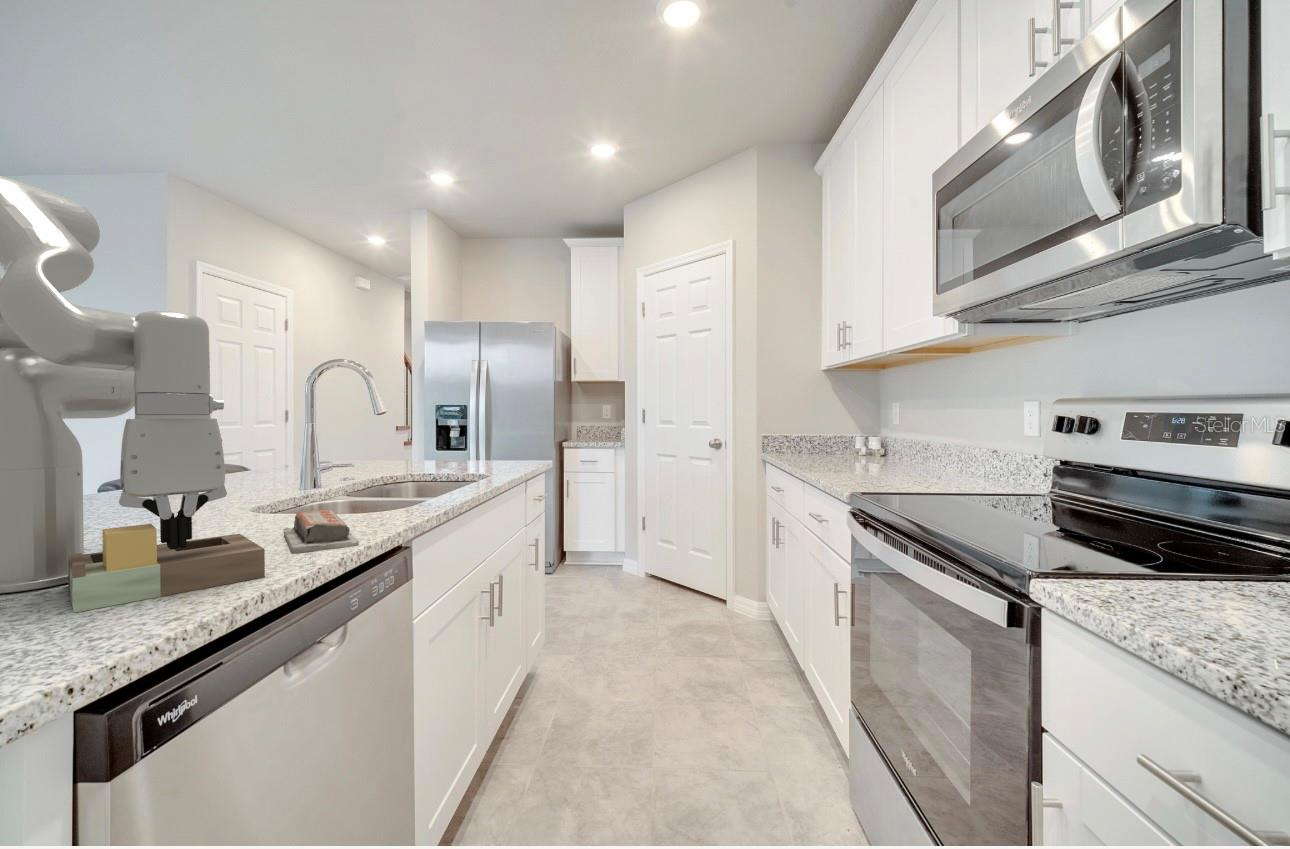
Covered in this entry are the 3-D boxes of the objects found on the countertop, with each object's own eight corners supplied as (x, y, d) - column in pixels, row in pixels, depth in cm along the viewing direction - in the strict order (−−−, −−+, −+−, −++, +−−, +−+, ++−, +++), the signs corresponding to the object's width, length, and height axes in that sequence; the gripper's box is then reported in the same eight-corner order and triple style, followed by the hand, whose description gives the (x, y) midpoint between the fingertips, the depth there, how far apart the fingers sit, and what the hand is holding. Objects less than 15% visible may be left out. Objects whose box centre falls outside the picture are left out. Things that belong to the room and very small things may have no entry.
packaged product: (282, 511, 102) (341, 506, 108) (282, 536, 102) (342, 530, 109) (291, 527, 88) (359, 520, 94) (291, 557, 88) (359, 548, 94)
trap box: (68, 586, 71) (67, 545, 71) (239, 558, 85) (239, 524, 85) (73, 612, 62) (72, 565, 62) (264, 576, 76) (264, 538, 76)
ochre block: (103, 565, 67) (102, 529, 67) (151, 557, 71) (151, 523, 71) (106, 572, 64) (106, 534, 64) (156, 564, 68) (156, 528, 68)
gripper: (236, 408, 79) (238, 533, 79) (90, 408, 68) (93, 553, 68) (250, 408, 74) (252, 541, 74) (95, 407, 63) (98, 564, 63)
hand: (176, 546), depth 71 cm, fingers closed
